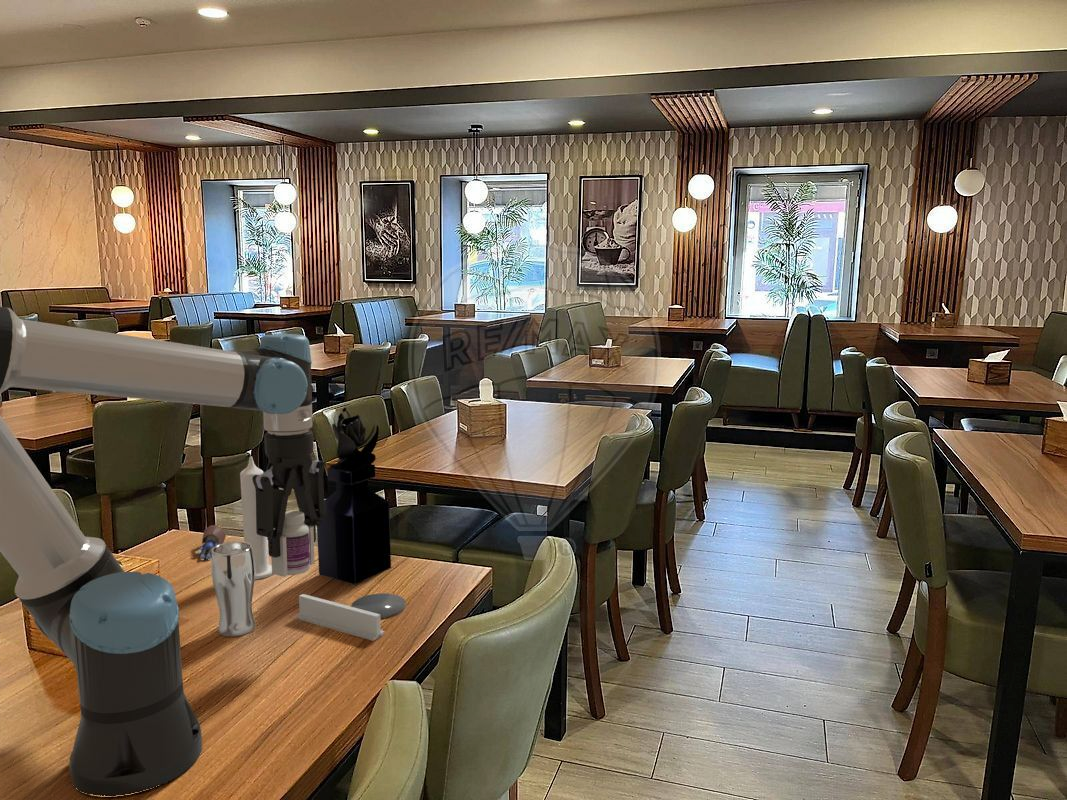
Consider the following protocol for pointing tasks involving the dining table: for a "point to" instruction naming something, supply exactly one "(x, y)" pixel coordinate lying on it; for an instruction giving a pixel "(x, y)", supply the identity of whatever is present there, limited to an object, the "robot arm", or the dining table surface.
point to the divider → (340, 617)
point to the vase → (353, 511)
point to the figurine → (211, 540)
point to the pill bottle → (296, 543)
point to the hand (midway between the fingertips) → (293, 568)
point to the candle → (253, 521)
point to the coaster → (381, 604)
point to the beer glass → (234, 587)
